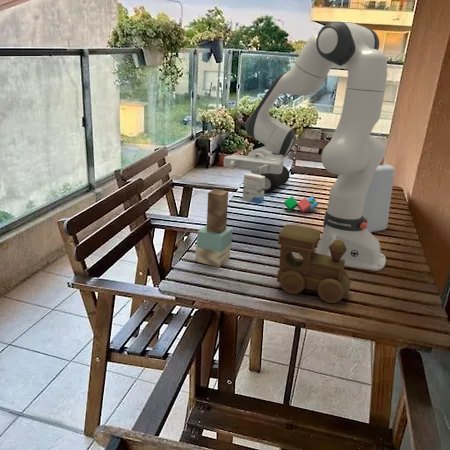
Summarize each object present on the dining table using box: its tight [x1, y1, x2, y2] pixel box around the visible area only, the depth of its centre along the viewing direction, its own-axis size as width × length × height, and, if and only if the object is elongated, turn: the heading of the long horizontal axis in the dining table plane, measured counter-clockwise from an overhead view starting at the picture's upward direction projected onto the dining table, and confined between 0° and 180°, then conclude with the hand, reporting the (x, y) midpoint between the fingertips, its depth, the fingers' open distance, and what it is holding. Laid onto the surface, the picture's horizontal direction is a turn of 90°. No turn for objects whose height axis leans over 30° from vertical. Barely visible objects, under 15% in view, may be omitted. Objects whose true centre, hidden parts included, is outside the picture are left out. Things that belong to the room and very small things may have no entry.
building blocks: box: [283, 195, 319, 214], centre depth 189 cm, size 8×8×12 cm
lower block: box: [195, 243, 232, 268], centre depth 138 cm, size 8×8×5 cm
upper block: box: [196, 224, 233, 252], centre depth 136 cm, size 8×8×5 cm
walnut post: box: [206, 188, 229, 234], centre depth 133 cm, size 4×4×12 cm
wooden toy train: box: [276, 223, 352, 304], centre depth 121 cm, size 20×11×17 cm, turn 69°
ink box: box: [242, 172, 265, 204], centre depth 197 cm, size 9×5×12 cm, turn 58°
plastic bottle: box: [362, 157, 395, 233], centre depth 172 cm, size 15×15×28 cm
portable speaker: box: [260, 165, 290, 194], centre depth 219 cm, size 26×10×10 cm, turn 155°
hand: (244, 168), depth 144 cm, fingers open, 8 cm apart
